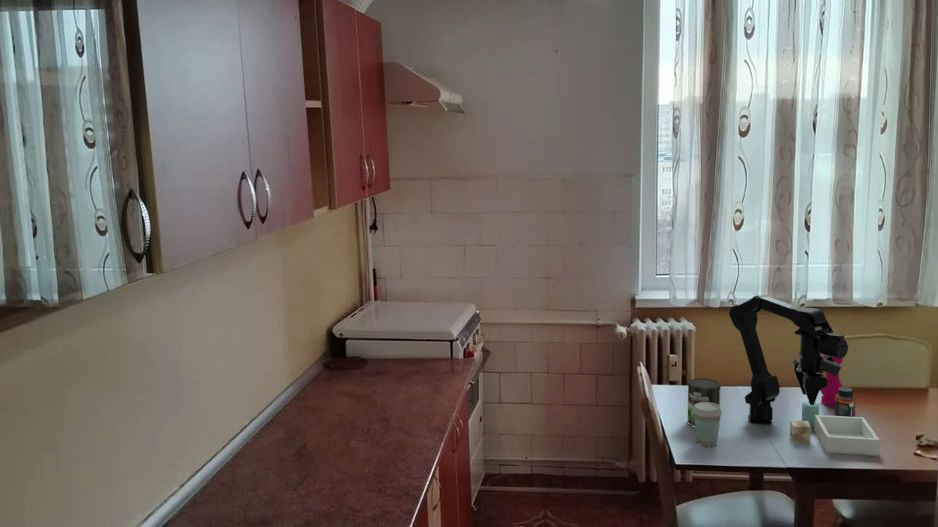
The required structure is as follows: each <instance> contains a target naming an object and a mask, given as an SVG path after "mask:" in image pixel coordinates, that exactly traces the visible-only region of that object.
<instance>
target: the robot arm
mask: <svg viewBox="0 0 938 527" xmlns="http://www.w3.org/2000/svg"><path fill="white" fill-rule="evenodd" d="M763 310H764V311H765V312H768V313H771V314H773V315H777V316H779V317H782V318H784V319H787V320H790V321H791V322H792V323H793V325H795V326H796V327H797V329H796V330H795V331H794V332H793V334H794V335H798V336H800V347H799V348H800V349H799V350H800V351H798V352H797V353H798V355H797V356H799V359H797V358H795V360H793V361H792V366H791V368H792V369H793V373H794V375H795V378H796V380H797V383H798V385H799V388H800V390H801V393H802V394H803V395H805V396H806V398H807V400H808V401H807V402H809V403H810V405H814V404H815V403H816V401H817V398H818V395H819V393H820V392H821V391H820V390H821V389H823V388H826V387H828V380H827V379H826V378H825V377H826V375H824V373H826V372H827V373H830V374H833V375H834V376H838V374H839V373H840V371H841V370H842V369H841V368H842V366H841V364H840V365H839V364H838V363H836V362H834V359H833V357H836V358H840V359H842V358H843V359H844V358H845V357H846V355H847V353H848V350H849V345H848V342H847V340H846V339H845V335H844V334H835V333H834V330H833V328H832V327H831V325H830V322H828V320H827V317H826V315H825V314H824V311H823V310H822V309H819V308H812V307H799V306H796V305H793V304H791V303H787V302H785V301H781V300H779V299H776V298H773V297H771V296H769V295H767V294H765V293H764V294H760V295H755V296H753V297H751V298H750V299H749V300H746V301H745V302H742V303H740V304H736V305H733V306H731V308H730V309H729V313H728V314H729V318H730V320H731V322H732V325H733V326H734V328H735V329H737V330H738V331H739V333H740V336H741V339H742V343H743V347H744V350H745V353H746V356H747V361H748V363H749V366H750V370H751V374H752V375H751V376H752V377H751V382H750V389H751V391H750V392H749V393H747V394H746V395H745V396H744V400H745V404H748V405H749V406H748V408H749V410H748V411H749V413H748V415H747V416H748V420H749V423H751V424H765V425H766V424H769V425H771V424H772V421H773V413H774V412H773V407H772V404H771V403H772V402H775V401H776V398H778V396H779V394H780V392H781V390H780V388H781V385H780V383H779V379H778V376H777V375H772V373H770V372H769V370H768V366H767V362H766V360H765V356H764V355H765V354H764V352H763V349H762V346H761V342H760V339H759V335H758V332H757V325H758V320H759V319H758V315H757V314H759V313H760V312H762V311H763ZM824 355H827V356H826V357H825V358H824ZM831 356H832V357H831ZM840 369H841V370H840Z"/></svg>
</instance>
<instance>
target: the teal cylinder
mask: <svg viewBox="0 0 938 527" xmlns="http://www.w3.org/2000/svg"><path fill="white" fill-rule="evenodd" d="M815 415H820V404H819V403H817V402H815V404H814V405H810V403H809V401H803V402H802V403H801V421H808V423H809V425H810V426H811V429H814V421H815Z"/></svg>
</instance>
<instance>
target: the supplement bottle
mask: <svg viewBox="0 0 938 527" xmlns="http://www.w3.org/2000/svg"><path fill="white" fill-rule="evenodd" d="M853 392H854V390H853V389H852V388H851V387H842V388H839V394H837V395H836V396H835V405H834V413H833V414H834V415H833V416H845V417H856V403H857V402H856V396H854V394H853Z"/></svg>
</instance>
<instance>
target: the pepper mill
mask: <svg viewBox="0 0 938 527" xmlns="http://www.w3.org/2000/svg"><path fill="white" fill-rule="evenodd" d="M826 356H827V355H824V354H823V358H825V357H826ZM831 357H832V356H831ZM833 359H834V362H836V363H838V364H839V365H840V366H841V364H842V363H843V359H844V358H842V359H840V358H836V357H833ZM841 370H842V369H840V371H841ZM825 378H826V379H827V380H828V387H826V388H823V389H821V390H820V391H819V392H820V393H821V394H822V395H821V400H820V401H821V403H823V404H824V405H827V406H835V396H836V395H837V394H839V388H842V387H843V384H842V382H841V380H840V375H839V374H838V376H834V375H833V374H830V373H827V372H825Z"/></svg>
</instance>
